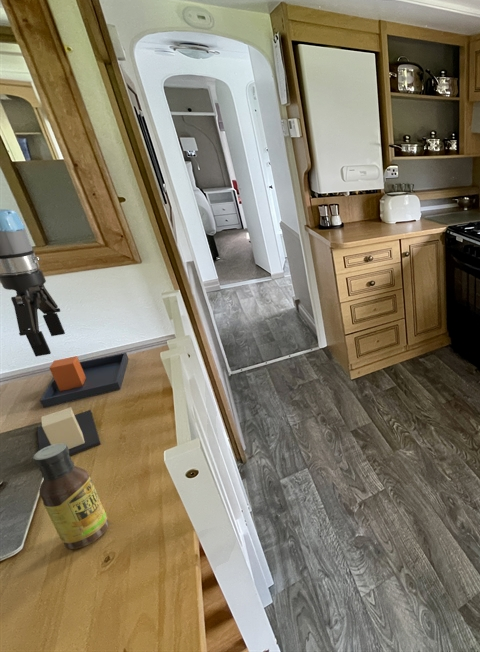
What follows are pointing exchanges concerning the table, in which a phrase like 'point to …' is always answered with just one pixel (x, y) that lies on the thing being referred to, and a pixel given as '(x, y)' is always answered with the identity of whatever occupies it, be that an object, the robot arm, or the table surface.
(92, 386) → the tray
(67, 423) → the cream block
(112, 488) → the table surface
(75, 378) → the rust block
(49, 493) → the sauce bottle
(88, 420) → the mat
